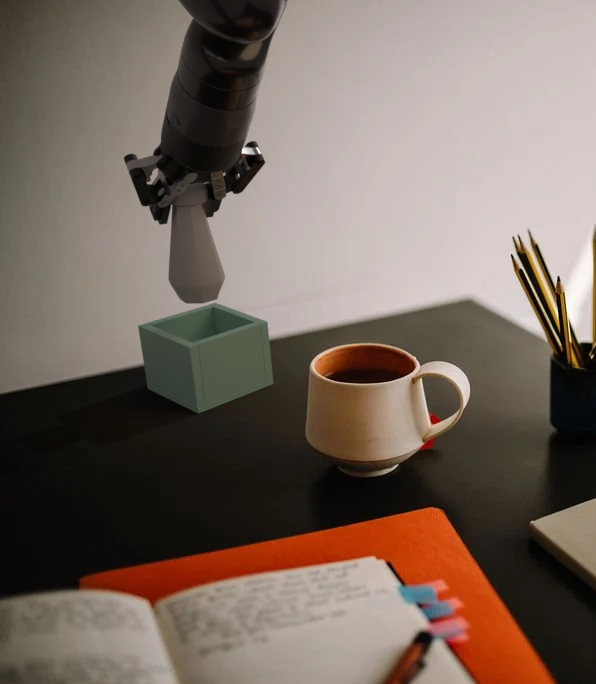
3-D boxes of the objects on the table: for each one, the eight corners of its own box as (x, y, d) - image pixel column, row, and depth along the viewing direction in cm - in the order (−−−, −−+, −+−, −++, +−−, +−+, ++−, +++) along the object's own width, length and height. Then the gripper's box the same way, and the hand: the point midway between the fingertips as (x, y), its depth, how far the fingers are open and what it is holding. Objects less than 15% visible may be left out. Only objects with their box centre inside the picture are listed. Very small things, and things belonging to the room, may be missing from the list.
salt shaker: (183, 310, 96) (166, 189, 91) (163, 296, 100) (146, 179, 95) (235, 299, 99) (222, 181, 95) (214, 286, 103) (200, 172, 99)
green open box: (198, 414, 98) (189, 347, 95) (147, 389, 104) (137, 325, 101) (273, 384, 105) (267, 321, 102) (222, 362, 111) (215, 302, 108)
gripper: (268, 76, 89) (234, 177, 103) (117, 85, 81) (102, 194, 95) (295, 137, 87) (258, 232, 101) (144, 152, 79) (125, 254, 93)
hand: (183, 213), depth 98 cm, fingers closed on salt shaker, 4 cm apart
